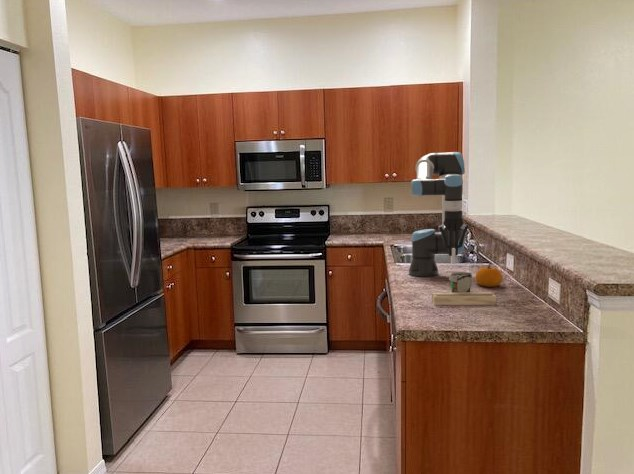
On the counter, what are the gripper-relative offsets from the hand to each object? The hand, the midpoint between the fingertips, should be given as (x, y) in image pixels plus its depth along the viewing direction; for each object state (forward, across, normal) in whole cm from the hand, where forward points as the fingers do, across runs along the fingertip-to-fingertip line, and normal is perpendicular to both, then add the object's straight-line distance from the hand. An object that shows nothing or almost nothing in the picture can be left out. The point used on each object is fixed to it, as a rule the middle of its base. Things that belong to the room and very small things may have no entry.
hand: (453, 262), depth 214 cm
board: (+12, 0, -22) cm, 25 cm away
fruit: (+13, +18, +8) cm, 23 cm away
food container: (+12, 0, -13) cm, 18 cm away
